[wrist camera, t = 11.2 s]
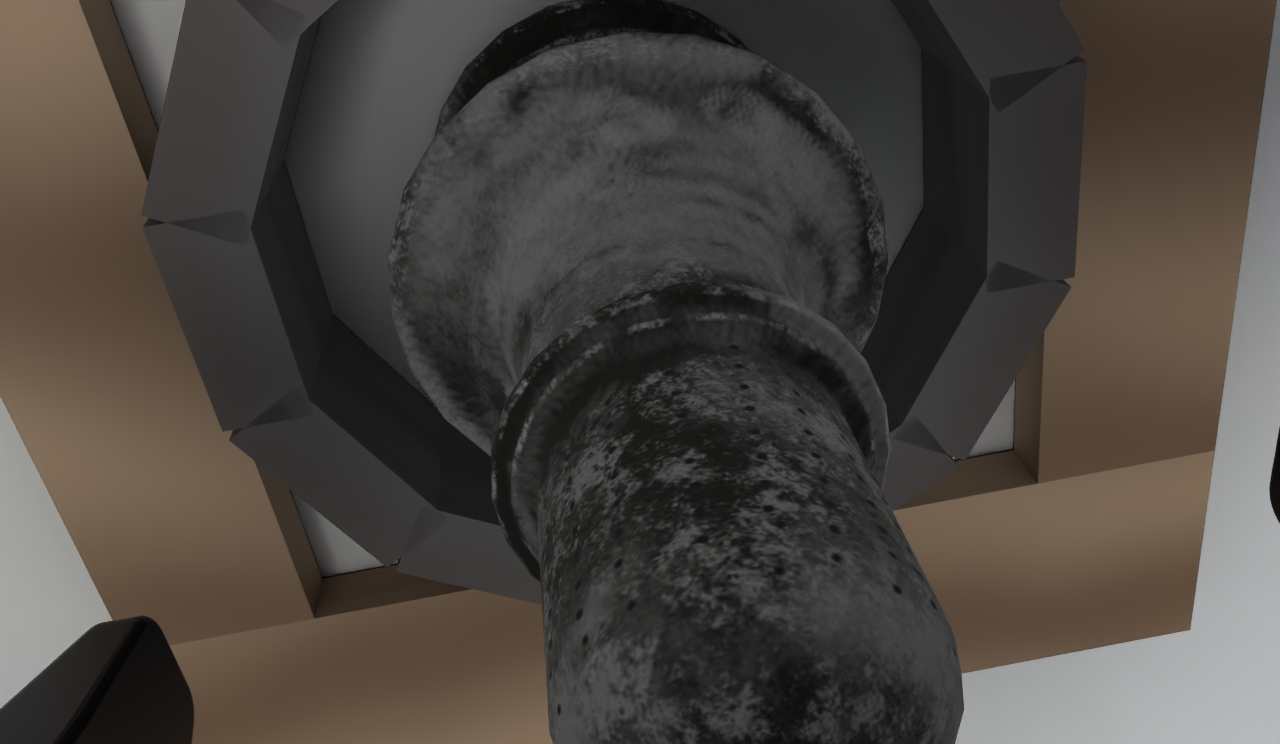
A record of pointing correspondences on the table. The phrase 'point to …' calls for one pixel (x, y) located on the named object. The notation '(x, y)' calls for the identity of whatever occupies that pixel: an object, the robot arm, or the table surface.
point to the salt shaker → (674, 382)
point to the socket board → (461, 471)
